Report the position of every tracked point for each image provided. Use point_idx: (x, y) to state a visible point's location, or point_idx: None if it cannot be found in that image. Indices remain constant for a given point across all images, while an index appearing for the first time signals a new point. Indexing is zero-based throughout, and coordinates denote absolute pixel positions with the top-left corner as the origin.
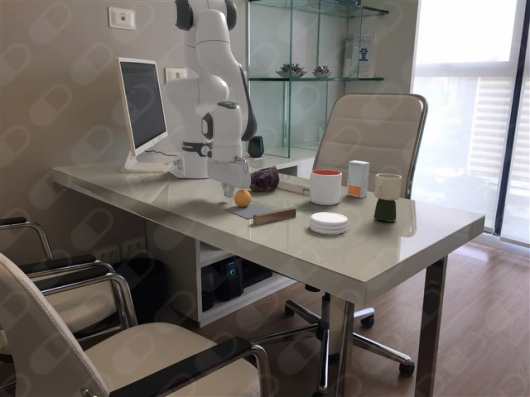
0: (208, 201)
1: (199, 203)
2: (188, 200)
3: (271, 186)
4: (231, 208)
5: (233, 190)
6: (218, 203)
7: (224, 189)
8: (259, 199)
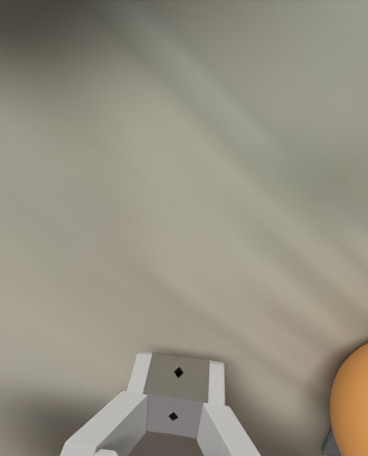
0: (89, 400)
1: None
2: (8, 444)
3: None
4: None
5: (241, 433)
6: None
7: (132, 445)
8: (347, 40)
